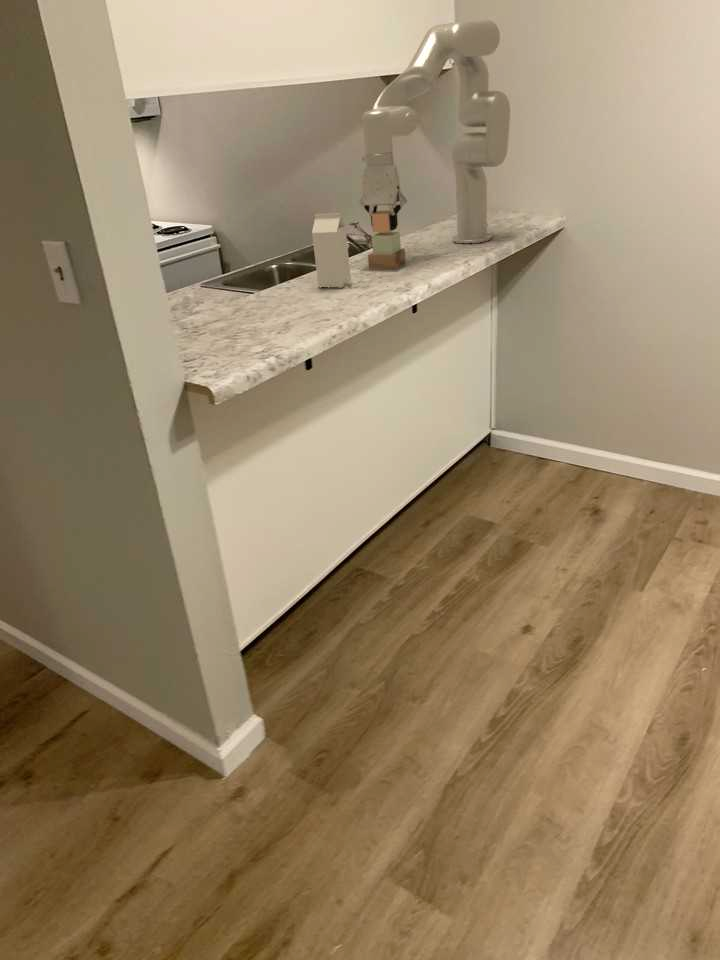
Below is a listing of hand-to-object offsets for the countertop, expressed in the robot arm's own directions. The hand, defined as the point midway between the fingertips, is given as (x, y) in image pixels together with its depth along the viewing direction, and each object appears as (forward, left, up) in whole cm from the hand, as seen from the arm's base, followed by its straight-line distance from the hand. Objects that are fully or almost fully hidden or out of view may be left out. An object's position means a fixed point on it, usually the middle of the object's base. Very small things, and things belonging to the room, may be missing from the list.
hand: (384, 228), depth 209 cm
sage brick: (0, 0, -6) cm, 6 cm away
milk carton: (+19, -7, -12) cm, 23 cm away
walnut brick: (0, 0, -10) cm, 10 cm away
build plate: (0, 0, -11) cm, 11 cm away
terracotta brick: (0, 0, 0) cm, 1 cm away
